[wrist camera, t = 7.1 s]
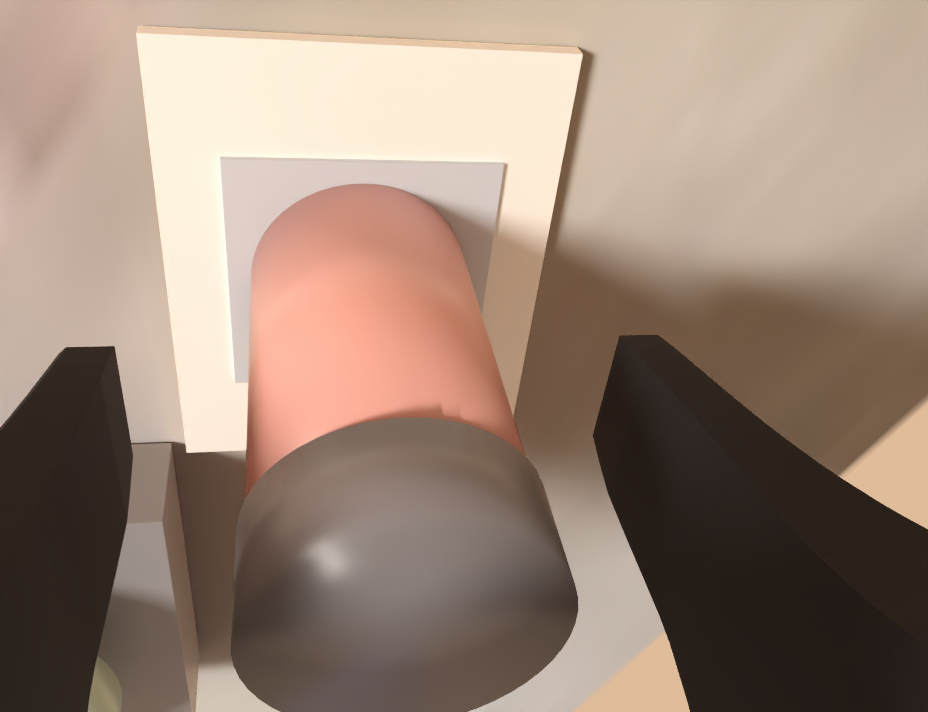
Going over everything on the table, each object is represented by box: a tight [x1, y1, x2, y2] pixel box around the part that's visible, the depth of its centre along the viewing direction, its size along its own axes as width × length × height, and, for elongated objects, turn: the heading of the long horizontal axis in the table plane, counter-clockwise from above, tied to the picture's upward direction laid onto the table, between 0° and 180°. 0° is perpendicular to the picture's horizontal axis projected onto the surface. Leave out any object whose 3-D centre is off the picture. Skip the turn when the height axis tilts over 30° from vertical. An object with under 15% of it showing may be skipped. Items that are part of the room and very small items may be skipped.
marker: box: [231, 184, 578, 712], centre depth 12 cm, size 4×4×7 cm
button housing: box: [97, 443, 199, 712], centre depth 18 cm, size 7×7×2 cm
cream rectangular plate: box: [136, 26, 583, 453], centre depth 15 cm, size 8×6×1 cm
